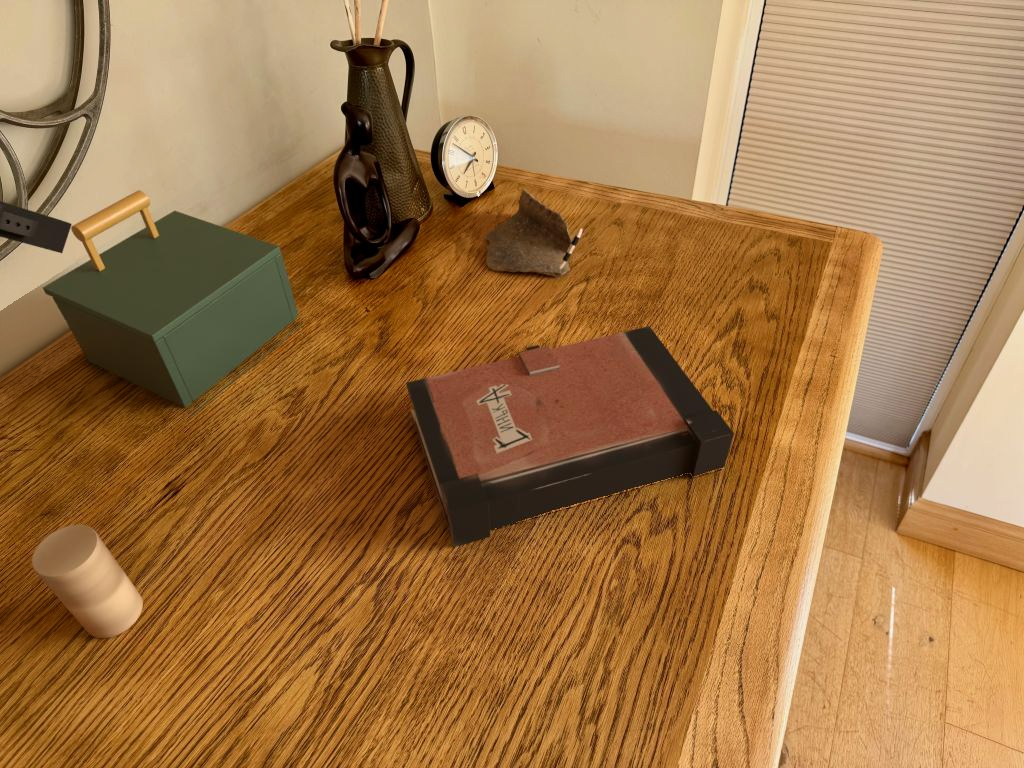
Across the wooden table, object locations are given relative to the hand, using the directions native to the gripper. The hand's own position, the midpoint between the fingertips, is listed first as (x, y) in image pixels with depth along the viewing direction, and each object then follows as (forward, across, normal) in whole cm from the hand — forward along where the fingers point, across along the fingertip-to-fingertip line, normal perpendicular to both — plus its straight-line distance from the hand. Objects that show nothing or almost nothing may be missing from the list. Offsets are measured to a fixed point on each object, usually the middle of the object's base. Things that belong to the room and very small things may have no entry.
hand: (16, 218), depth 66 cm
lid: (+13, +5, -1) cm, 14 cm away
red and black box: (+25, +48, -3) cm, 54 cm away
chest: (+20, +6, -8) cm, 22 cm away
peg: (+1, +25, -27) cm, 37 cm away
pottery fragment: (+44, +29, +16) cm, 55 cm away
